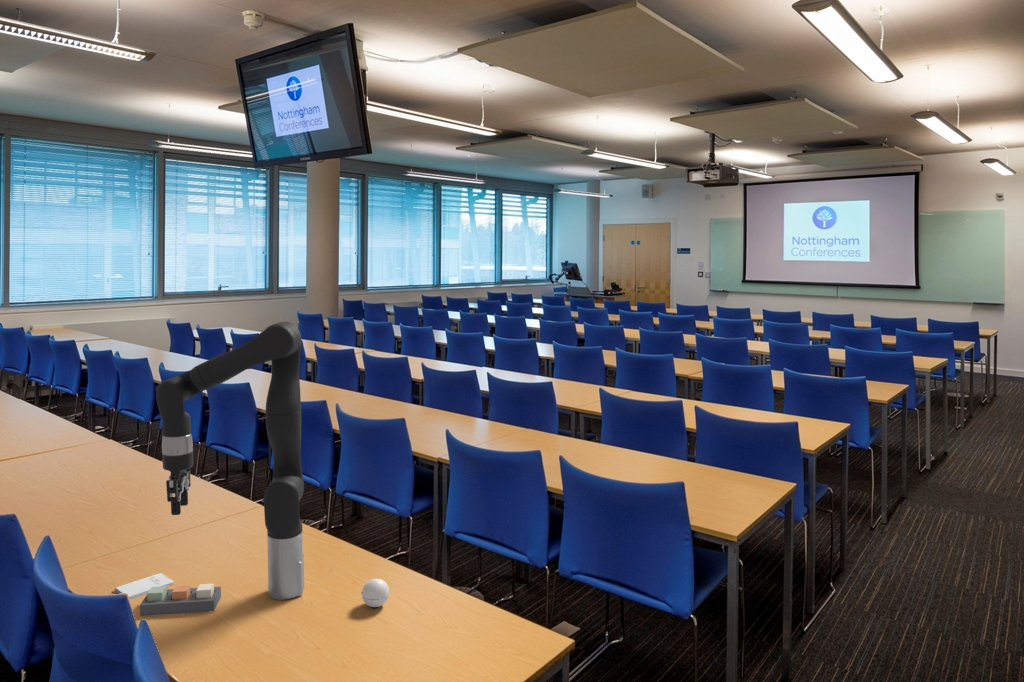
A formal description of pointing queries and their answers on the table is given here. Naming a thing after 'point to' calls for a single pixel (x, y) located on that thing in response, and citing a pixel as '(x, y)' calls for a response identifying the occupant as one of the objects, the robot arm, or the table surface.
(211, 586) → the cream button
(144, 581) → the external hard drive
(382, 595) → the white ovoid
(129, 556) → the table surface
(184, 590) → the terracotta button
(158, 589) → the sage button
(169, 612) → the keypad
